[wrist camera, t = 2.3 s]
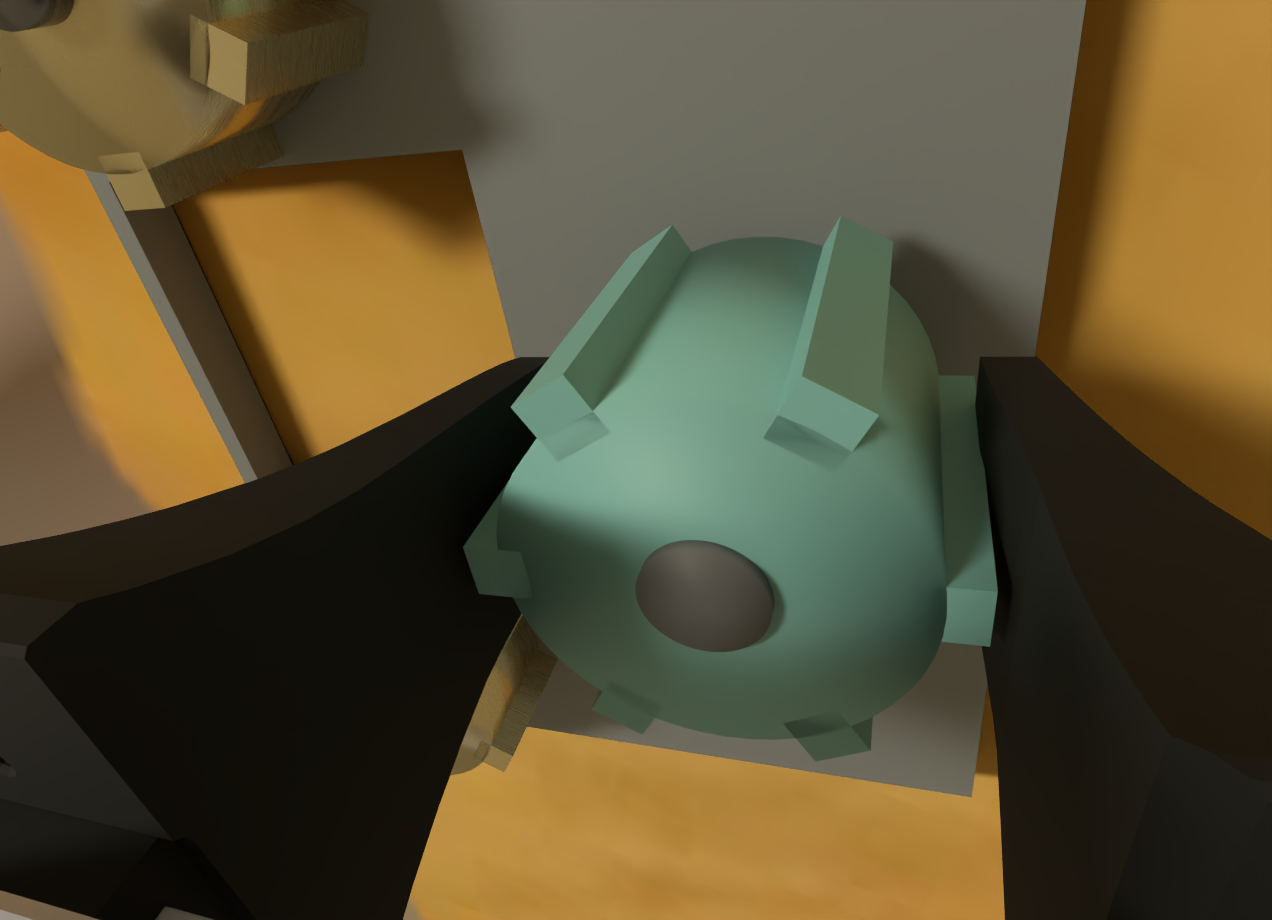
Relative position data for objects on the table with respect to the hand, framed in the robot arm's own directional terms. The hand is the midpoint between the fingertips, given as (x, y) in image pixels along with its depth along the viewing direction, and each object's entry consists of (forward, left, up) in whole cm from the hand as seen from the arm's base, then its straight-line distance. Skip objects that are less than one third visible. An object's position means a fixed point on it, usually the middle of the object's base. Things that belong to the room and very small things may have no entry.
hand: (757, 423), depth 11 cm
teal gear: (0, 0, -1) cm, 1 cm away
